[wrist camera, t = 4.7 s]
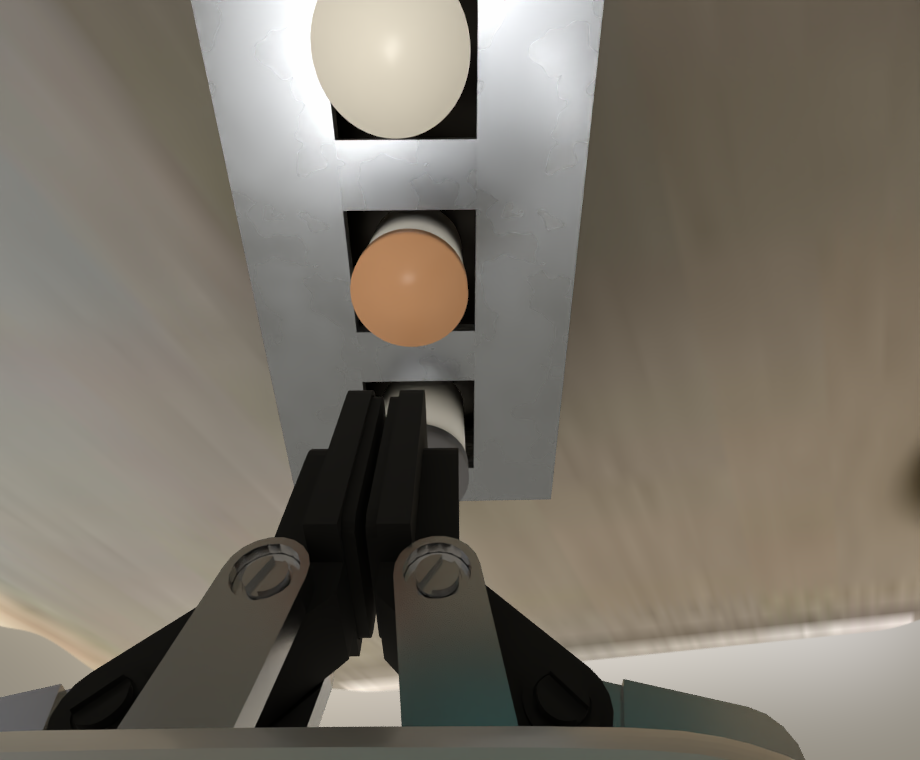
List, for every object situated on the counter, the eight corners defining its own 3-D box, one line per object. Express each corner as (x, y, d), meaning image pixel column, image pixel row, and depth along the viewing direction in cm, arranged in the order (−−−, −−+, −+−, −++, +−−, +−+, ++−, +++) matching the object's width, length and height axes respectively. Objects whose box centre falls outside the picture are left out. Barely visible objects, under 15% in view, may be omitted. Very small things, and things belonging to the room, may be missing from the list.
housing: (577, -83, 21) (618, -135, 16) (535, 435, 34) (550, 499, 29) (232, -83, 21) (162, -135, 16) (320, 438, 34) (297, 503, 29)
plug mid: (464, 201, 25) (468, 234, 19) (464, 294, 27) (467, 346, 22) (365, 202, 25) (343, 235, 19) (374, 295, 27) (356, 347, 22)
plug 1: (464, -16, 19) (470, -51, 14) (464, 123, 22) (470, 138, 16) (339, -16, 19) (298, -50, 14) (352, 124, 21) (321, 139, 16)
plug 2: (465, 367, 27) (469, 436, 22) (465, 439, 30) (468, 517, 24) (376, 369, 27) (359, 437, 22) (383, 441, 29) (369, 518, 24)
